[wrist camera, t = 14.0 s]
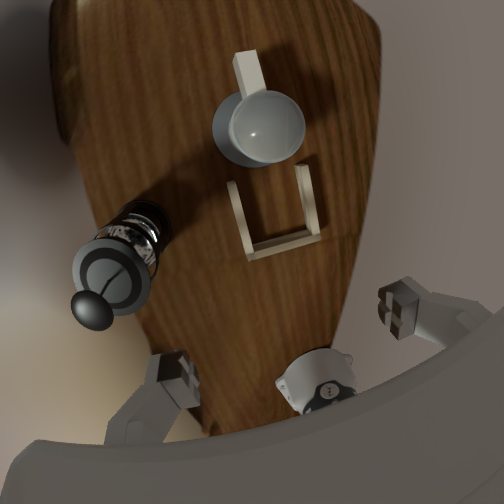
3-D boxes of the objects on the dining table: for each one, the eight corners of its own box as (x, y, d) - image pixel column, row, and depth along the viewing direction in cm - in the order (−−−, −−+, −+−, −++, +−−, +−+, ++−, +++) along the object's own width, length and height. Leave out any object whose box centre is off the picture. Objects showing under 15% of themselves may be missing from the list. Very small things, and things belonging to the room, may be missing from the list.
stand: (314, 233, 46) (321, 240, 43) (245, 253, 45) (248, 261, 42) (301, 163, 41) (307, 165, 38) (225, 182, 40) (227, 185, 38)
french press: (168, 193, 40) (128, 252, 19) (180, 250, 43) (163, 350, 22) (99, 208, 38) (18, 274, 17) (114, 262, 42) (59, 357, 21)
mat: (300, 157, 40) (301, 157, 40) (223, 176, 40) (224, 176, 39) (282, 83, 36) (283, 82, 35) (203, 100, 35) (203, 99, 34)
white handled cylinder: (288, 150, 39) (311, 154, 30) (233, 164, 39) (241, 170, 30) (266, 63, 33) (283, 41, 24) (209, 74, 33) (210, 53, 24)
